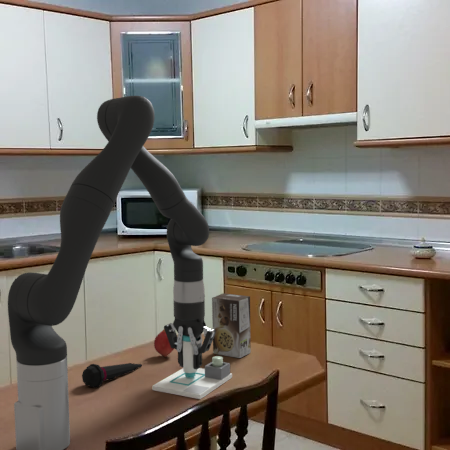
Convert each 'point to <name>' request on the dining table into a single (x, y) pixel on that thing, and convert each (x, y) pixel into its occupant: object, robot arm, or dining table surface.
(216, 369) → the button housing
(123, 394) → the dining table surface
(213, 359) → the button
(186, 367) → the marker
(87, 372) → the microphone
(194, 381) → the white flat rectangular panel
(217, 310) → the coffee box
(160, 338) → the onion
